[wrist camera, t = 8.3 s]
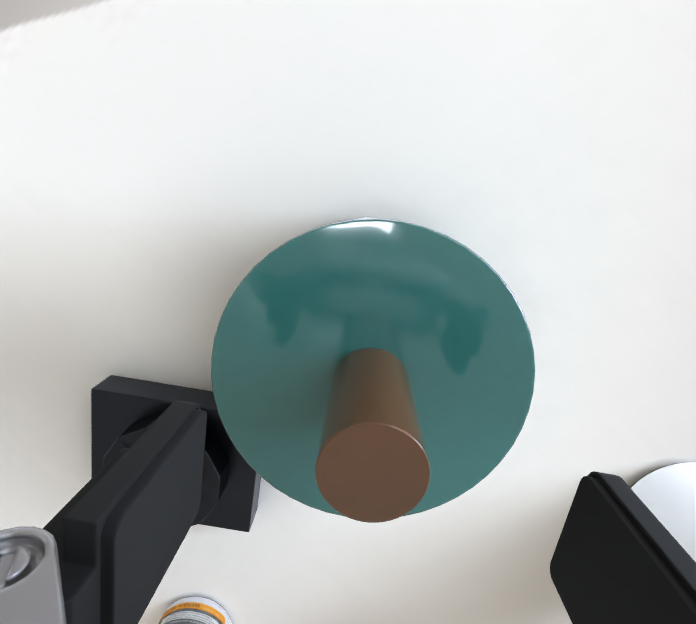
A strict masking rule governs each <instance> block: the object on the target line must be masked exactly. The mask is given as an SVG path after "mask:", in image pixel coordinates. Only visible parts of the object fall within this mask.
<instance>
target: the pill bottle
mask: <svg viewBox="0 0 696 624" xmlns="http://www.w3.org/2000/svg"><path fill="white" fill-rule="evenodd" d="M159 624H231V621H230V618H229V616H228V614H227V612H226V611H225V610H224V609H223V608H222V607H221V606H220V605H218V604H217V603H216V602H214V601H212V600H209V599H206V598H202V597H187V598H182V599H179V600H178V601H176V602H174V603H173V604H172V605H170V606H169V607H168V608H167V609H166V611H165V613H164V614H163V616H162V618H161V620H160V622H159Z"/></svg>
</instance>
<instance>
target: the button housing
mask: <svg viewBox="0 0 696 624" xmlns="http://www.w3.org/2000/svg"><path fill="white" fill-rule="evenodd" d="M175 400H181V401H186V402H192V403H198V404H200V407H201V410H203V411H206V412H207V423H206V436H205V449H204V461H203V474H202V487H201V500H200V506H199V510H198V513H197V515H196V517H195V519H194V521H193V523H192V525H191V526H193V525H196V524H202V525H208V526H214V527H220V528H226V529H232V530H238V531H244V532H249V531H250V528H251V525H252V522H253V519H254V516H255V513H256V511H257V503H258V495H259V487H260V479H261V476H260V475H259V474H258V473H257V472H256V471H255V470H254V469H253V468H252V467H251V466H250V465H249V464H248V463H247V462H246V461H245V459H244V458H243V457H242V455H241V454H240V453H239V451H238V450H237V449H236V447H235V446H234V444H233V442H232V441H231V439H230V437H229V435H228V434H227V432H226V430H225V427H224V425H223V423H222V420H221V418H220V416H219V413H218V409H217V405H216V402H215V398H214V393H213V392H210V391H203V390H197V389H191V388H185V387H179V386H173V385H167V384H161V383H155V382H149V381H143V380H137V379H131V378H125V377H119V376H113V375H111V376H109V377H108V378H106V379H105V380H104V381H102V382H101V383H99V384H98V385H96V386H95V387H94V388H92V390H91V402H92V478H93V477H94V476H95V475H96V474H97V473H98V472H99V471H100V470H101V469H102V468H103V467H104V466H105V465H106V464H107V463H108V462H109V461H110V460H111V459H112V458H113V457H114V456H115V455H116V454H117V453H118V452H119V451H120V450H121V449H123V448H130V447H131V446H132V445H133V444H134V443H135V442H136V441H137V439H138V438H139V437H140V436H141V435H142V434H143V433H144V432H145V431H146V430H147V429H148V428H149V427H150V426H151V425H152V424H153V423H154V422H155V421H156V420H157V419H158V417H159V416H160V415H161V414H162V413H163V412H164V411H165V410H166V409H167V408H168V407H169V406H170V405H171V404H172V403H173V402H174V401H175Z"/></svg>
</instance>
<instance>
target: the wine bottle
mask: <svg viewBox="0 0 696 624" xmlns="http://www.w3.org/2000/svg"><path fill="white" fill-rule="evenodd" d="M631 489H632V490H633V492H634V493H635V494H636V495H637V496H638V497H639V498H640V500H641V501H642V502H643V503H644V504H645V505H646V506H647V508H648V509H649V510H650V511H651V512H652V513H653V514H654V515H655V517H656V518H657V519H658V520H659V521H660V522H661V523H662V525H663V526H664V527H665V528H666V529H667V530H668V531H669V532H670V534H671V535H672V536H673V537H674V538H675V539H676V540H677V542H678V543H679V544H680V545H681V546H682V547H683V548H684V549H685V551H686V552H687V553H688V554H689V555H690V556H691V557H692V559H693V560H694V561H695V562H696V462H686V463H679V464H673V465H669V466H666V467H663V468H660V469H658V470H656V471H654V472H652V473H650V474H648V475H646V476H645V477H643V478H642V479H640V480H639V481H638V482H637V483H636V484H635V485H633V486H632V487H631Z"/></svg>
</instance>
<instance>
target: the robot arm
mask: <svg viewBox="0 0 696 624" xmlns="http://www.w3.org/2000/svg"><path fill="white" fill-rule="evenodd" d="M206 423H207V412H206V411H203V410H201V407H200V404H198V403H192V402H186V401H181V400H175V401H174V402H173V403H172V404H171V405H170V406H169V407H168V408H167V409H166V410H165V411H164V412H163V413H162V414H161V415H160V416H159V417H158V419H157V420H156V421H155V422H154V423H153V424H152V425H151V426H150V427H149V428H148V429H147V430H146V431H145V432H144V433H143V434H142V435H141V436H140V437H139V438H138V439H137V441H136V442H135V443H134V444H133V445H132V446H131V447H130V448H123V449H121V450H120V451H119V452H118V453H117V454H116V455H115V456H114V457H113V458H112V459H111V460H110V461H109V462H108V463H107V464H106V465H105V466H104V467H103V468H102V469H101V470H100V471H99V472H98V473H97V474H96V475H95V476H94V477H93V478H92V479H91V480H90V481H89V482H88V483H87V484H86V485H85V486H84V487H83V488H82V489H81V490H80V491H79V492H78V493H77V494H76V495H75V496H74V497H73V498H72V499H71V500H70V501H69V502H68V503H67V504H66V505H65V506H64V507H63V508H62V510H61V511H60V512H59V513H58V514H57V515H56V516H55V517H54V518H53V519H52V520H51V521H50V522H49V523H48V524H47V525H46V526H45V527H44V528H43V529H41V528H37V527H15V528H10V529H5V530H1V531H0V624H138V622H139V621H140V619H141V617H142V615H143V613H144V611H145V609H146V608H147V606H148V604H149V602H150V600H151V598H152V597H153V595H154V593H155V591H156V589H157V587H158V586H159V584H160V582H161V580H162V578H163V576H164V575H165V573H166V571H167V569H168V567H169V565H170V564H171V562H172V560H173V558H174V556H175V554H176V553H177V551H178V549H179V547H180V545H181V543H182V541H183V540H184V538H185V536H186V534H187V532H188V530H189V529H190V527H191V525H192V523H193V521H194V519H195V517H196V515H197V513H198V510H199V506H200V500H201V487H202V474H203V461H204V449H205V436H206ZM550 574H551V578H552V581H553V583H554V585H555V587H556V589H557V591H558V593H559V596H560V598H561V600H562V602H563V604H564V606H565V608H566V611H567V613H568V615H569V617H570V619H571V621H572V623H573V624H696V562H695V561H694V560H693V559H692V557H691V556H690V555H689V554H688V553H687V552H686V551H685V549H684V548H683V547H682V546H681V545H680V544H679V543H678V542H677V540H676V539H675V538H674V537H673V536H672V535H671V534H670V532H669V531H668V530H667V529H666V528H665V527H664V526H663V525H662V523H661V522H660V521H659V520H658V519H657V518H656V517H655V515H654V514H653V513H652V512H651V511H650V510H649V509H648V508H647V506H646V505H645V504H644V503H643V502H642V501H641V500H640V498H639V497H638V496H637V495H636V494H635V493H634V492H633V490H632V489H631V488H630V487H629V486H628V485H627V484H626V483H625V481H624V480H623V479H622V478H621V477H619V476H616V475H611V474H605V473H599V472H591V473H590V474H589V475H588V476H585V477H583V478H582V479H581V481H580V483H579V486H578V489H577V491H576V494H575V497H574V500H573V502H572V505H571V508H570V511H569V513H568V516H567V519H566V522H565V524H564V527H563V530H562V533H561V535H560V538H559V541H558V543H557V546H556V549H555V552H554V554H553V557H552V560H551V563H550Z"/></svg>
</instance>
